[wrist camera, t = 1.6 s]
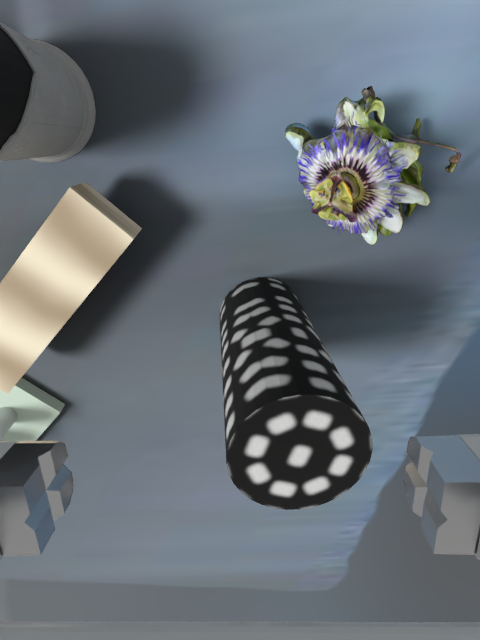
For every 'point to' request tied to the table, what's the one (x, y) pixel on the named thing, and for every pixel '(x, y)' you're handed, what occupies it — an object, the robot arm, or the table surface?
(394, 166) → the passion flower
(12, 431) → the peg stand
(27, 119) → the electric kettle
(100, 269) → the plank
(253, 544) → the table surface
